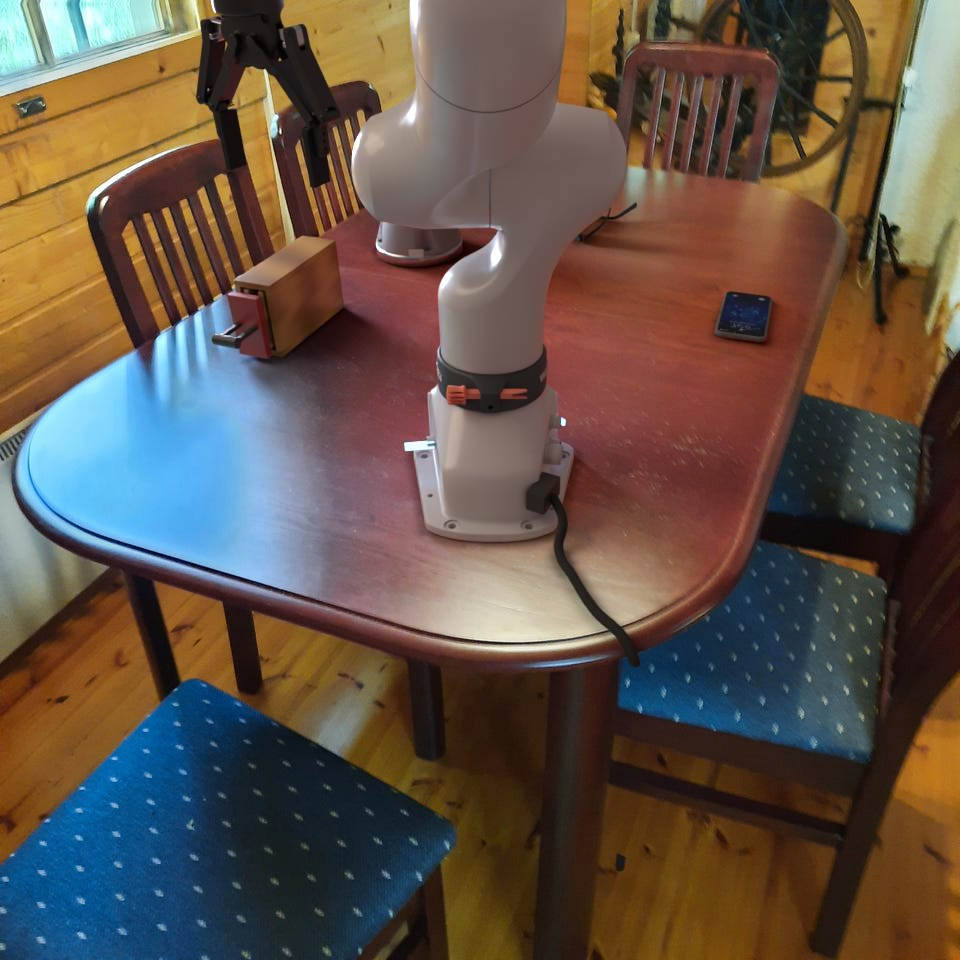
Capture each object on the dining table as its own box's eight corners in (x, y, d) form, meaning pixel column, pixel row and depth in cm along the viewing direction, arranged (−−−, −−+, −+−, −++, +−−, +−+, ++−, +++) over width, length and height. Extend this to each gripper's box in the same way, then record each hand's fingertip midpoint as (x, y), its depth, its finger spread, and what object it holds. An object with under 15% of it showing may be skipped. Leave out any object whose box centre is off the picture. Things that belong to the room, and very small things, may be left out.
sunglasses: (646, 234, 156) (649, 207, 153) (572, 244, 153) (574, 217, 150) (609, 205, 169) (611, 179, 166) (540, 214, 166) (541, 188, 163)
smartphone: (773, 295, 132) (766, 339, 121) (772, 301, 133) (765, 345, 121) (725, 289, 134) (713, 331, 123) (724, 295, 135) (712, 337, 123)
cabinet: (282, 357, 122) (269, 286, 115) (248, 350, 124) (233, 280, 117) (344, 306, 135) (335, 240, 128) (312, 301, 136) (302, 235, 130)
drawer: (244, 377, 115) (231, 316, 110) (216, 371, 117) (201, 311, 111) (327, 310, 131) (320, 254, 126) (301, 306, 133) (293, 250, 128)
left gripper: (134, -31, 92) (181, 168, 105) (307, -20, 81) (336, 202, 94) (188, -39, 97) (226, 152, 110) (358, -30, 86) (379, 182, 99)
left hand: (277, 175), depth 102 cm, fingers open, 13 cm apart
